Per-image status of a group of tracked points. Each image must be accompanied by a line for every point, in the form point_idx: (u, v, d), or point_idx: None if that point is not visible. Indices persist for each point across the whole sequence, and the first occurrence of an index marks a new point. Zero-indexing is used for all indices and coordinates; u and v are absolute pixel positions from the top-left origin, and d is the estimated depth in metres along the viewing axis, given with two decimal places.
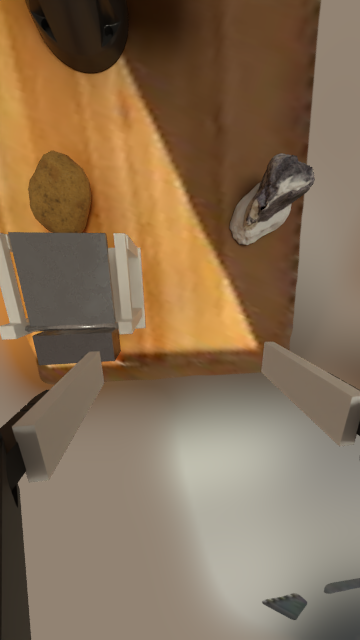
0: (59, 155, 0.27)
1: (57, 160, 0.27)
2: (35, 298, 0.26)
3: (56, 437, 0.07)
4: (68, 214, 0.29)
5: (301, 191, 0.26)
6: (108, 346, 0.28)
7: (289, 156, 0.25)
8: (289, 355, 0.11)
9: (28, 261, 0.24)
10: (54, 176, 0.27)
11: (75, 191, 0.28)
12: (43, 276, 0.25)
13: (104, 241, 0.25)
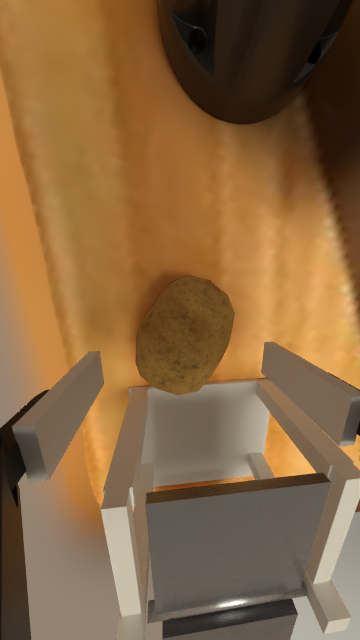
0: (206, 290, 0.14)
1: (205, 303, 0.14)
2: (174, 582, 0.13)
3: (56, 437, 0.07)
4: (203, 377, 0.17)
5: None
6: (286, 628, 0.15)
7: None
8: (289, 355, 0.11)
9: (173, 538, 0.12)
10: (199, 332, 0.14)
11: (222, 343, 0.16)
12: (196, 553, 0.13)
13: (325, 493, 0.12)
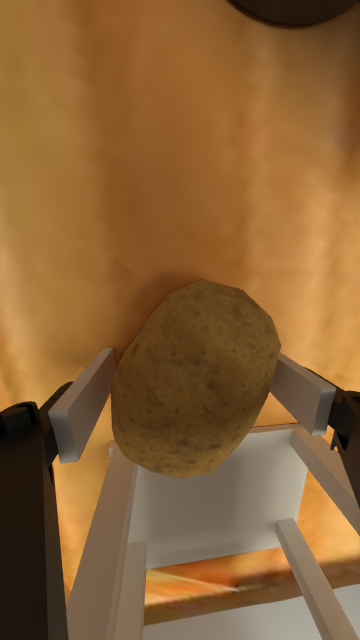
0: (237, 308, 0.08)
1: (239, 333, 0.07)
2: None
3: (83, 423, 0.08)
4: (227, 454, 0.10)
5: None
6: None
7: None
8: None
9: None
10: (225, 390, 0.07)
11: (262, 400, 0.09)
12: None
13: None
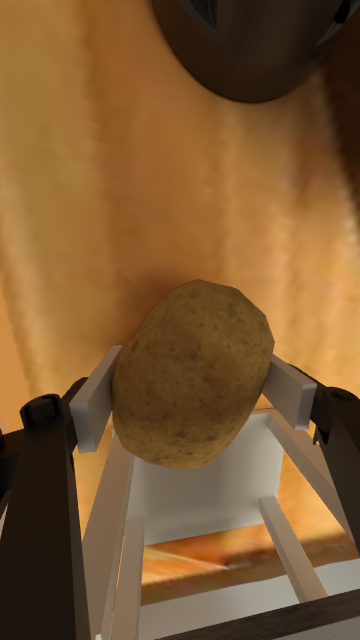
0: (232, 306, 0.08)
1: (233, 329, 0.08)
2: None
3: (99, 416, 0.08)
4: (223, 447, 0.10)
5: None
6: None
7: None
8: None
9: None
10: (220, 383, 0.08)
11: (257, 394, 0.09)
12: None
13: None
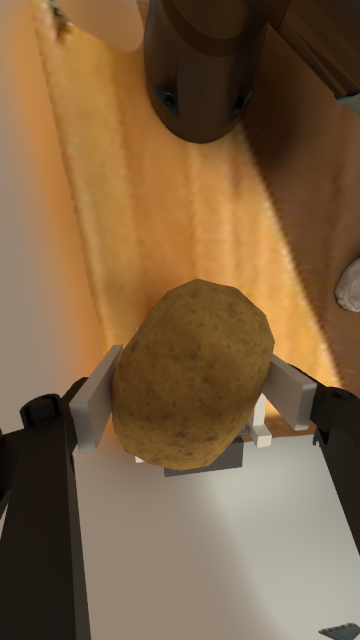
0: (232, 306, 0.08)
1: (233, 329, 0.08)
2: None
3: (99, 416, 0.08)
4: (223, 447, 0.10)
5: None
6: (238, 454, 0.25)
7: None
8: None
9: None
10: (220, 383, 0.08)
11: (257, 394, 0.09)
12: None
13: None
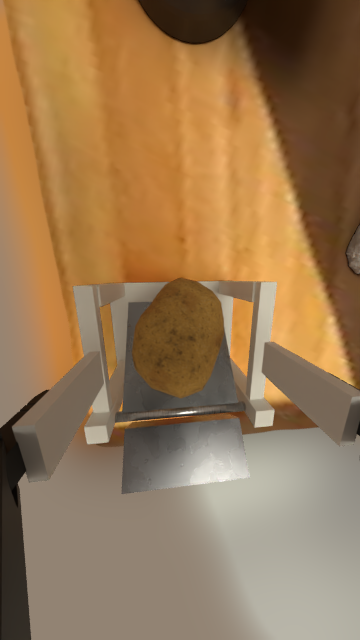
0: (193, 281, 0.19)
1: (193, 286, 0.18)
2: None
3: (56, 437, 0.07)
4: (203, 358, 0.15)
5: None
6: (236, 445, 0.17)
7: None
8: (289, 355, 0.11)
9: None
10: (190, 304, 0.16)
11: (215, 321, 0.17)
12: None
13: None
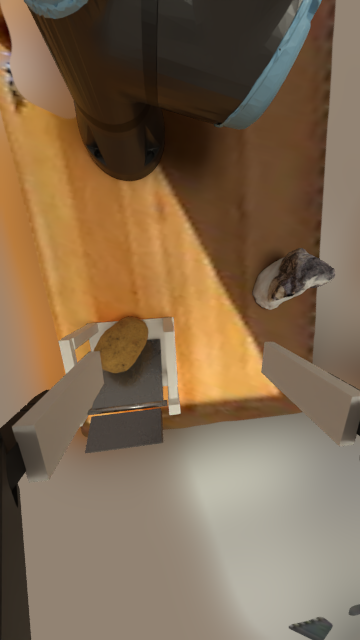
0: (132, 317, 0.37)
1: (129, 318, 0.35)
2: (105, 383, 0.33)
3: (56, 437, 0.07)
4: (122, 348, 0.30)
5: None
6: (156, 424, 0.29)
7: (312, 257, 0.29)
8: (289, 355, 0.11)
9: None
10: (123, 325, 0.33)
11: (135, 332, 0.33)
12: None
13: (159, 342, 0.39)
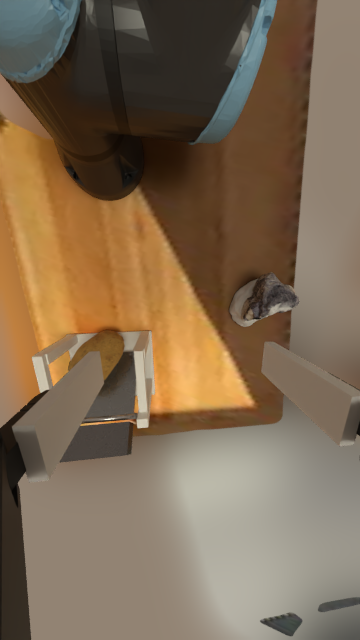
0: (109, 330, 0.38)
1: (106, 332, 0.37)
2: None
3: (56, 437, 0.07)
4: None
5: (288, 310, 0.32)
6: (124, 437, 0.31)
7: (278, 285, 0.31)
8: (289, 355, 0.11)
9: None
10: (98, 340, 0.35)
11: (109, 348, 0.34)
12: None
13: None
